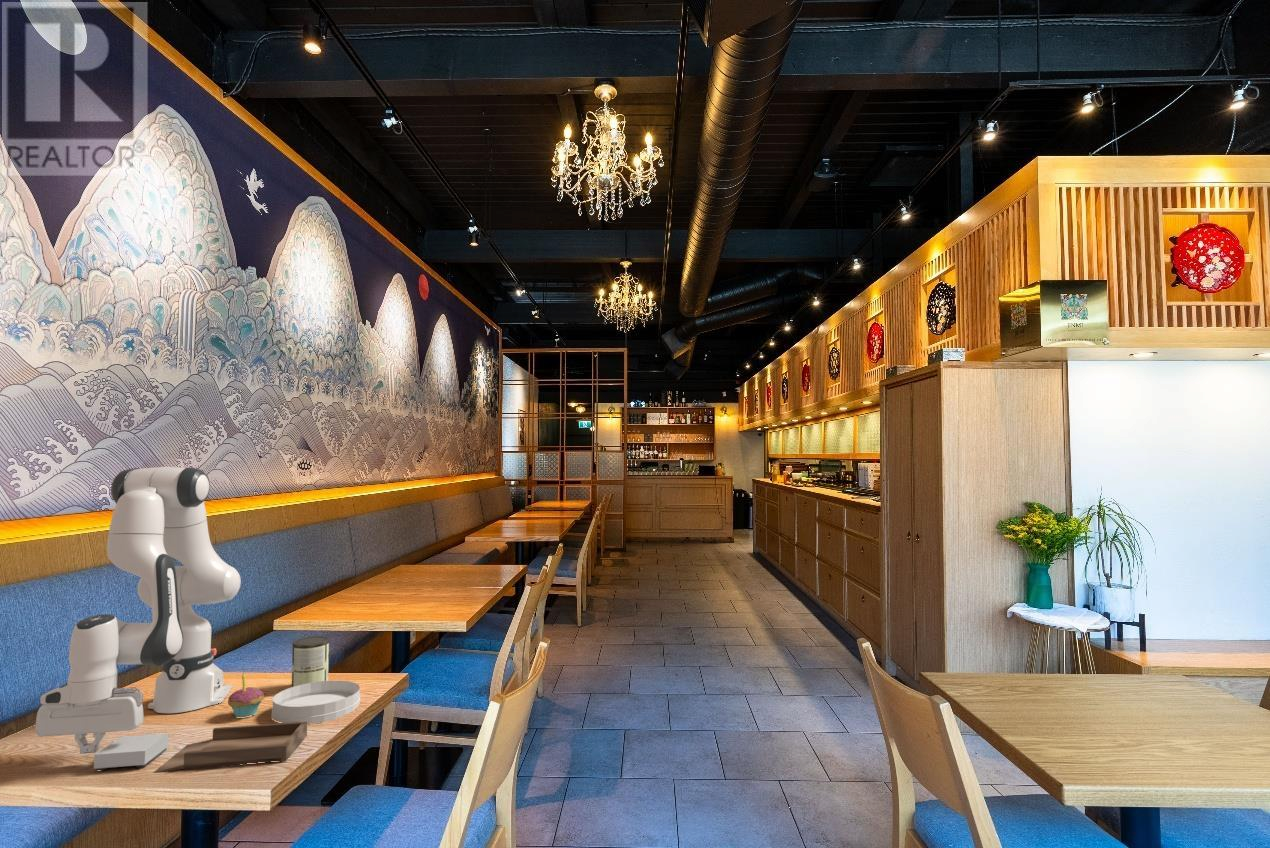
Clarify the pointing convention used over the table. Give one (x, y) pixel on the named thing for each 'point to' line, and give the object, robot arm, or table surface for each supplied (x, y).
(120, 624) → the robot arm
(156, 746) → the grey square tile
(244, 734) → the dock
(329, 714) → the dish
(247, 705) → the cupcake
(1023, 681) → the table surface
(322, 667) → the coffee can
